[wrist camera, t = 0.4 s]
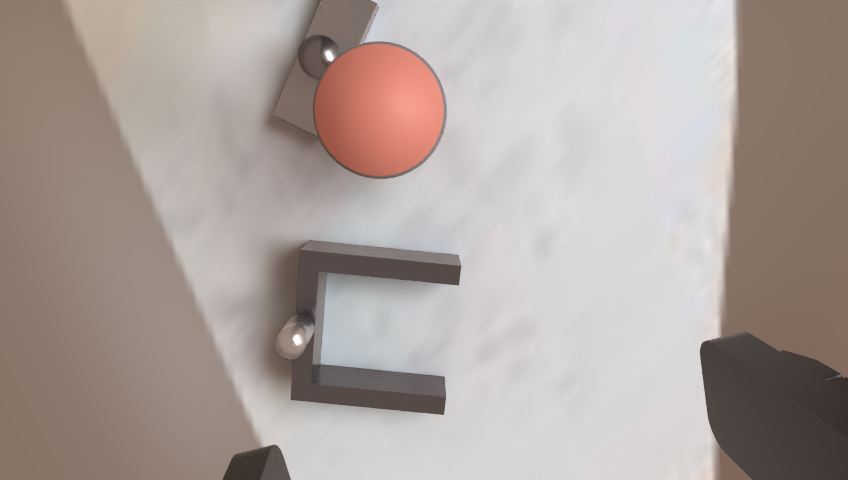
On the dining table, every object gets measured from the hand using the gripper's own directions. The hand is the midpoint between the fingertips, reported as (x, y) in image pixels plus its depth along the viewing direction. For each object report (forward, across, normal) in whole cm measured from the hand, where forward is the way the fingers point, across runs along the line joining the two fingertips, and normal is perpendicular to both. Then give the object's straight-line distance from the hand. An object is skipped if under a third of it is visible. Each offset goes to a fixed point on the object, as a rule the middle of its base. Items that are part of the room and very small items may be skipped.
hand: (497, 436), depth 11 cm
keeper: (+20, +3, +5) cm, 21 cm away
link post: (+21, 0, -6) cm, 21 cm away
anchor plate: (+21, +3, -9) cm, 23 cm away
